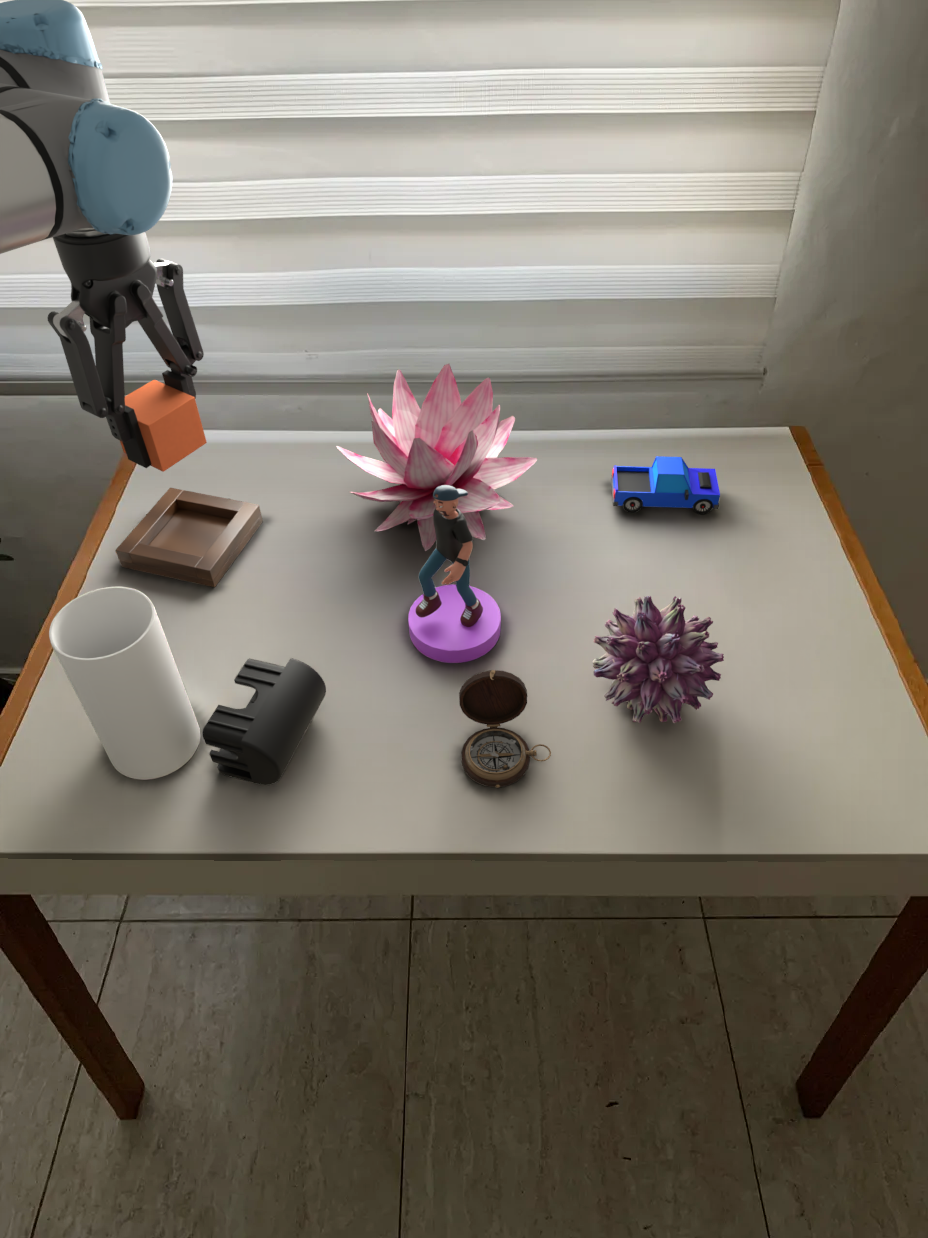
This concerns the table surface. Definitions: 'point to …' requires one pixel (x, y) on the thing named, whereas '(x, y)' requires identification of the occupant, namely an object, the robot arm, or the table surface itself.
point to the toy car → (665, 486)
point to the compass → (495, 729)
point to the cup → (126, 680)
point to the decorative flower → (440, 454)
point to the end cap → (265, 721)
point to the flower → (657, 659)
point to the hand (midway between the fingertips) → (165, 445)
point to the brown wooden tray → (190, 537)
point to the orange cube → (166, 423)
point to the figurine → (452, 593)
